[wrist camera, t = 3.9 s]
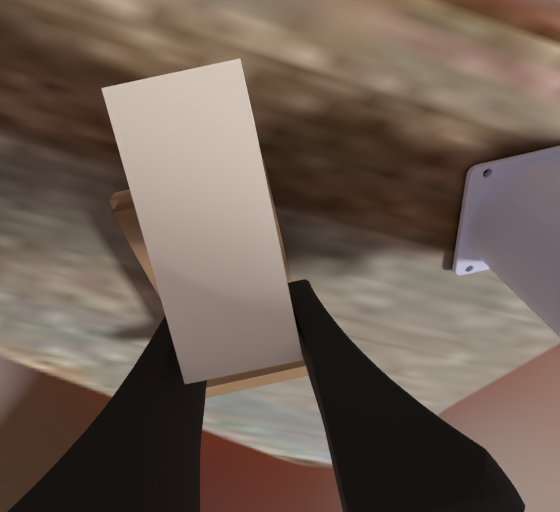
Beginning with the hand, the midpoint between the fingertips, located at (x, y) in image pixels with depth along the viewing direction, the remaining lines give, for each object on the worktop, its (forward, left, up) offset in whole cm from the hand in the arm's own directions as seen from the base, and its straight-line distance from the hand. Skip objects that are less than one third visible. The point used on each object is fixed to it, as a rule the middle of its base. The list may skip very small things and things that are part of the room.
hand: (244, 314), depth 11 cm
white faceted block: (0, -1, -4) cm, 4 cm away
